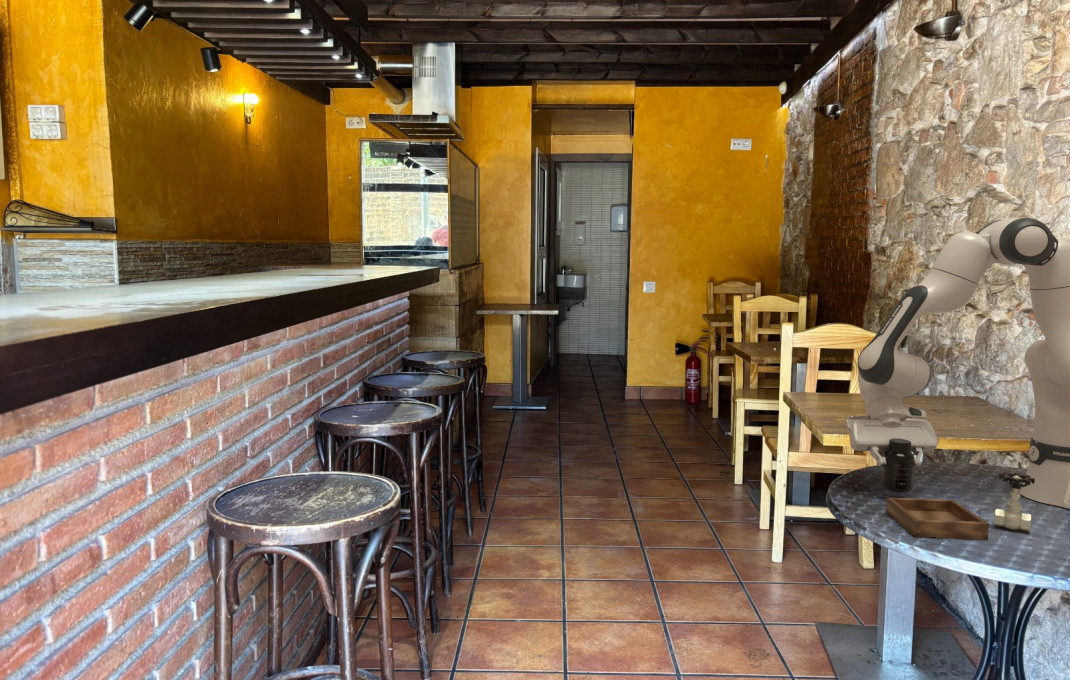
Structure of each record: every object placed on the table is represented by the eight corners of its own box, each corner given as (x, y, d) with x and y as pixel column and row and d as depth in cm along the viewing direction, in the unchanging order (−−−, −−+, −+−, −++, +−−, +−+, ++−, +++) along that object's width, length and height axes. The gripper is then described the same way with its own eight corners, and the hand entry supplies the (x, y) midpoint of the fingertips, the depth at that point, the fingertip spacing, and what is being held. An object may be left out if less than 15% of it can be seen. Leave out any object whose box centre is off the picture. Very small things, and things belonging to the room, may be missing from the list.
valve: (1029, 537, 162) (1035, 482, 161) (993, 530, 166) (998, 477, 164) (1029, 527, 168) (1034, 475, 166) (994, 521, 171) (999, 469, 170)
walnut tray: (952, 514, 175) (953, 499, 174) (987, 539, 160) (989, 523, 160) (885, 512, 176) (886, 497, 175) (914, 537, 161) (916, 521, 160)
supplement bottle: (877, 483, 189) (881, 436, 188) (906, 485, 188) (910, 437, 187) (885, 492, 182) (889, 443, 181) (916, 494, 182) (920, 445, 180)
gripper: (848, 409, 190) (860, 458, 182) (931, 410, 189) (947, 460, 181) (840, 422, 195) (852, 470, 187) (922, 424, 194) (937, 472, 186)
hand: (899, 465), depth 184 cm, fingers closed on supplement bottle, 7 cm apart
